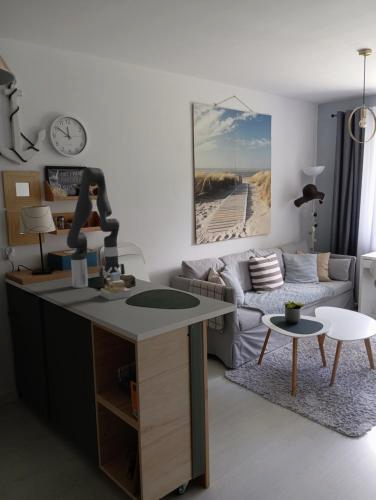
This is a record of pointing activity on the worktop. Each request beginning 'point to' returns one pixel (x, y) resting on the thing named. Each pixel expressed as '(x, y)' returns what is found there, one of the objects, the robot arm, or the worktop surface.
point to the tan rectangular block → (115, 285)
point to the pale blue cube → (115, 276)
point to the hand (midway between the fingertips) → (112, 283)
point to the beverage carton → (127, 281)
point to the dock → (115, 294)
